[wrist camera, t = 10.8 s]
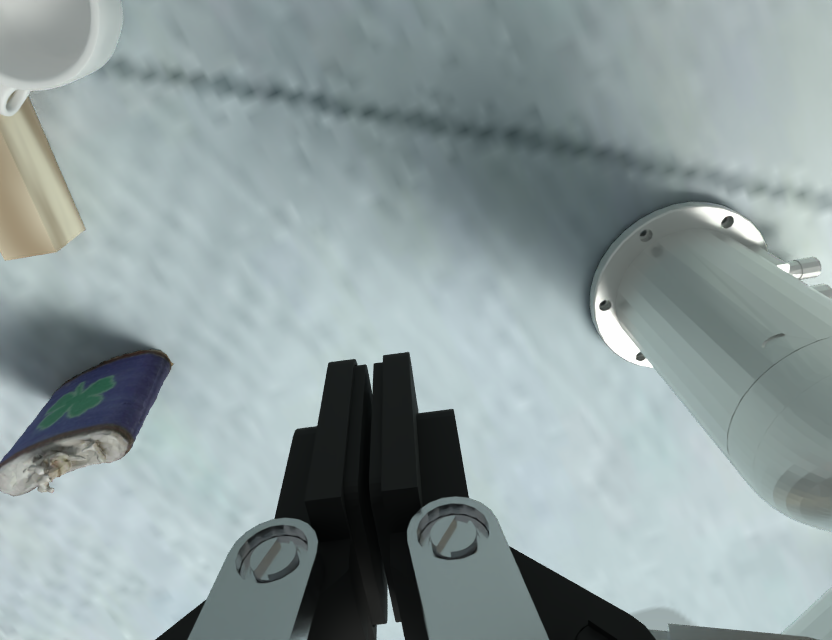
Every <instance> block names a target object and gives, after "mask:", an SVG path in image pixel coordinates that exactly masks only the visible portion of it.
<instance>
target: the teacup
mask: <svg viewBox="0 0 832 640" xmlns="http://www.w3.org/2000/svg"><path fill="white" fill-rule="evenodd" d="M122 26H123V8H122V2H121V0H0V114H1V115H3V116H7V117H8V116H13V115H14V114H15V113H16V112H17V111H18V110H19V109H20V107H21V106H22V104H23V103H24V101H25V100H26V98H27V96H28V95H29V93H30V92H31V91H39V90H48V89H53V88H58V87H61V86H64V85H67V84H70V83H72V82H74V81H77V80H79V79H81V78H83V77H85V76H87V75H90V74H92V73H94V72H95V71H97V70H99V69H100V68H101V67H103V66H104V65H105V64H106V63H107V62H108V60H109V59H110V58H111V56H112V55H113V53H114V51H115V49H116V46H117V44H118V41H119V38H120V35H121V31H122ZM14 91H15V92H14ZM13 92H14V94H13V96H12V98H11V99H10V100H9V102H8V103H7V100H8V98H9V96H10V95H11V94H12V93H13ZM6 103H7V104H6Z"/></svg>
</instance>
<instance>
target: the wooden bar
mask: <svg viewBox="0 0 832 640" xmlns="http://www.w3.org/2000/svg"><path fill="white" fill-rule="evenodd" d="M14 92H15V91H14ZM14 92H13V93H12V94H11V95H10V96H9V98H8V100H7V103H8V102H9V100H10V99H11V98H12V96H13V94H14ZM7 103H6V104H7ZM84 230H85V227H84V225H83V222H82V220H81V218H80V215H79V213H78V211H77V208H76V206H75V204H74V201H73V199H72V197H71V194H70V192H69V190H68V187H67V185H66V183H65V181H64V178H63V176H62V174H61V171H60V169H59V167H58V164H57V162H56V160H55V157H54V155H53V153H52V150H51V148H50V146H49V143H48V141H47V139H46V136H45V134H44V132H43V129H42V127H41V125H40V123H39V120H38V118H37V116H36V113H35V111H34V109H33V106H32V104H31V102H30V99H29V97H28V96H27V98H26V100H25V101H24V103H23V104H22V106H21V107H20V109H19V110H18V111H17V112H16V113H15V114H14V115H13V116H8V117H7V116H3V115H1V114H0V252H1V254H2V256H3V258H4V260H5V261H6V260H12V259H18V258H24V257H30V256H36V255H42V254H48V253H54V252H57V251H59V250H60V249H61V248H62V247H64V246H65V245H66V244H68V243H69V242H70V241H71V240H73V239H74V238H75V237H76V236H78V235H79V234H80V233H82V232H83V231H84Z"/></svg>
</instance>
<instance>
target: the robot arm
mask: <svg viewBox="0 0 832 640" xmlns="http://www.w3.org/2000/svg"><path fill="white" fill-rule="evenodd" d="M643 230H644V231H643ZM642 231H643V233H642V234H640V233H641V232H642ZM820 273H821V264H820V261H819V260H818V259H817V258H815V257H809V258H803V259H797V260H793V261H791V262H784V261H783V260H781V259H779V258H777V257H776V256H774V255H772V254H771V253H769V252H768V248H767V244H766V242H765V240H764V238H763V236H762V234H761V232H760V231H759V230H758V229H757V228H756V227H755V225H754V224H753V223H752V222H751V221H750V220H748V219H747V218H745V217H744V216H742V215H741V214H739V213H738V212H736V211H734V210H732V209H729V208H727V207H725V206H723V205H718V204H714V203H710V202H686V203H680V204H674V205H671V206H668V207H665V208H662V209H659V210H656V211H654V212H652V213H651V214H649V215H647V216H645V217H643V218H641V219H640V220H638V221H637V222H635V223H634V224H633V225H632V226H630V227H629V228H628V229H626V230H625V231H624V232H623V233H622V234H621V235H620V236H619V237H618V238H617V239H616V240H615V241H614V242H613V243H612V245H611V246H610V247H609V249H608V250H607V252H606V253H605V255H604V256H603V258H602V259H601V261H600V263H599V266H598V268H597V270H596V272H595V274H594V278H593V282H592V286H591V290H590V311H591V316H592V321H593V323H594V325H595V328H596V330H597V332H598V334H599V335H600V336H601V338H602V339H603V341H604V342H605V344H606V345H607V346H608V347H609V348H610V349H611V350H612V351H613V352H614V353H615V354H617V355H618V356H620V357H621V358H623V359H624V360H626V361H628V362H631V363H633V364H636V365H640V366H645V367H651V368H654V369H655V370H656V371H657V373H658V374H659V375H660V376H661V378H662V379H663V380H664V381H665V382H666V384H667V385H668V386H669V387H670V389H671V390H672V391H673V392H674V394H675V395H676V396H677V397H678V399H679V400H680V401H681V402H682V403H683V405H684V406H685V407H686V408H687V410H688V411H689V412H690V413H691V415H692V416H693V417H694V418H695V419H696V421H697V422H698V423H699V424H700V426H701V427H702V428H703V429H704V431H705V432H706V433H707V434H708V436H709V437H710V438H711V439H712V440H713V442H714V443H715V444H716V445H717V447H718V448H719V449H720V450H721V452H722V453H723V454H724V455H725V456H726V458H727V459H728V460H729V461H730V463H731V464H732V465H733V466H734V468H735V469H736V470H737V472H738V473H739V474H740V475H741V477H742V478H743V479H744V480H745V481H746V483H747V484H748V485H749V486H750V487H751V489H752V490H753V491H754V492H755V493H756V494H757V495H758V496H759V497H760V498H761V499H762V500H764V501H765V502H766V503H767V504H769V505H770V506H771V507H772V508H774V509H775V510H777V511H778V512H780V513H782V514H784V515H785V516H787V517H789V518H791V519H793V520H795V521H797V522H800V523H803V524H805V525H808V526H811V527H814V528H817V529H820V530H825V531H829V532H832V289H831V288H830V287H829V286H828V285H826V284H818V285H812V286H809V285H807V284H806V283H804V282H802V281H801V280H802V279H808V278H814V277H817V276H819V275H820ZM387 583H388V588H389V593H390V597H391V602H392V607H393V612H394V616H395V621H396V622H402V627H403V632H404V637H405V640H832V587H831V588H830V589H829V590H828V591H826V592H825V593H824V594H823V595H822V596H821V597H820V598H819V599H818V600H817V601H816V602H814V603H813V604H812V605H811V606H810V607H809V608H808V609H807V610H806V611H805V612H804V613H803V614H801V615H800V616H799V617H798V618H797V619H796V620H795V621H794V622H793V623H792V624H791V625H790V626H788V627H787V628H786V629H785V630H784V631H783V632H782V633H781V634H773V633H762V632H752V631H741V630H731V629H720V628H710V627H699V626H689V625H678V624H668V630H667V631H659V630H649V629H647V628H646V626H645V625H643V624H642V623H641V622H639V621H638V620H637V619H635V618H634V617H633V616H631V615H630V614H628V613H626V612H625V611H623V610H621V609H619V608H618V607H616V606H614V605H612V604H610V603H609V602H607V601H605V600H603V599H602V598H600V597H598V596H596V595H595V594H593V593H591V592H589V591H587V590H586V589H584V588H582V587H580V586H579V585H577V584H575V583H573V582H572V581H570V580H568V579H566V578H565V577H563V576H561V575H559V574H557V573H556V572H554V571H552V570H550V569H549V568H547V567H545V566H543V565H542V564H540V563H538V562H536V561H535V560H533V559H531V558H529V557H527V556H526V555H524V554H522V553H520V552H519V551H517V550H515V549H513V548H512V547H510V546H509V545H508V543H507V541H506V538H505V536H504V534H503V531H502V529H501V527H500V524H499V522H498V520H497V518H496V517H495V515H494V514H493V512H492V511H491V510H490V509H489V508H488V507H486V506H485V505H484V504H482V503H481V502H478V501H476V500H473V499H470V498H469V496H468V490H467V484H466V479H465V473H464V467H463V461H462V455H461V449H460V444H459V438H458V432H457V426H456V420H455V415H454V410H453V409H449V410H441V411H433V412H425V413H418V406H417V400H416V393H415V386H414V380H413V373H412V366H411V359H410V354H409V352H405V353H398V354H390V355H383V362H382V363H374V369H373V394H372V390H371V384H370V379H369V374H368V369H367V365H358V366H357V362H356V360H355V359H351V360H344V361H336V362H329V363H328V368H327V373H326V379H325V385H324V391H323V396H322V402H321V408H320V414H319V420H318V425H317V426H316V427H308V428H300V429H297V430H295V433H294V435H293V440H292V444H291V448H290V453H289V457H288V462H287V466H286V470H285V475H284V479H283V484H282V488H281V492H280V497H279V501H278V506H277V510H276V514H275V519H272V520H269V521H267V522H264V523H261V524H259V525H257V526H255V527H254V528H252V529H250V530H249V531H247V532H246V533H245V534H244V535H243V536H241V537H240V538H239V539H238V540H237V541H236V542H235V544H234V545H233V547H232V548H231V550H230V552H229V553H228V555H227V557H226V559H225V562H224V564H223V566H222V568H221V570H220V572H219V574H218V576H217V578H216V581H215V583H214V585H213V587H212V589H211V591H210V593H209V595H208V597H207V599H206V600H205V601H204V602H203V603H201V604H200V605H199V606H197V607H196V608H195V609H194V610H192V611H191V612H190V613H189V614H187V615H186V616H185V617H183V618H182V619H181V620H180V621H178V622H177V623H176V624H175V625H173V626H172V627H171V628H170V629H168V630H167V631H166V632H164V633H163V634H162V635H161V636H159V637H158V638H157V639H156V640H376V634H377V625H379V624H386V623H387Z"/></svg>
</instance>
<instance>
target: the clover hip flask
mask: <svg viewBox="0 0 832 640" xmlns="http://www.w3.org/2000/svg"><path fill="white" fill-rule="evenodd" d="M172 365H173V363H171V361H170V359H169V358H168V356H167V355H166V354H165V353H163V352H162V351H160V350H153V349H150V350H140V351H136V352H133V353H128V354H123V355H122V356H116V357H114V358H111V359H110V360H108V361H104V362H101V363H100V364H99V365H97V366H95V367H93V368H91V369H89V370H87V371H85V372H82V374H79V375H78V376H77V375H76V376H75V377H73V378H72V379H71V380H68V381H67V382H66V383H64V384H63V385H62V386H61V387H60V388H59V389H57V390H56V392H55V393H54V394H53V395H52V397H51V399H50V400H49V401H48V403H47V404H46V405H45V406H44V407H43V409H42V410H41V411H40V413H39V414H38V415H37V417H36V418H35V420H34V421H33V422H32V423H31V425H30V426H28V428H27V429H26V431H25V432H24V433H23V435H22V436H21V437H20V438H19V439H18V440H17V442H16V443H15V445H14V446H13V447H12V449H11V450H10V451H9V452H8V453H7V454H6V455H5V456H4V458H3V459H2V461H1V462H0V491H1V492H3V493H5V494H9V495H11V496H19V495H22V494H25V493H28V492H30V491H31V490H33V489H35V488H36V487H38V491H39V492H50V493H51V492H53V491H54V489H53V488H50V487H49V482H53V481H52V480H53V479H54V478H55V477H60V476H61V475H63V474H65V473H68V472H70V471H74V470H76V469H79V468H82V467H86V466H89V465H93V464H101V463H111V462H113V461H116V460H119V459H121V458H122V457H124V456H125V455H126V454H127V453H128V452H129V451H130V449H131V448H132V446H133V443H134V441H135V439H136V436H137V435H138V433H139V430H140V428H141V427H142V425H143V422H144V420H145V418H146V416H147V415H148V413H149V410H150V408H151V407H152V405H153V404H154V402H155V400H156V398H157V395H158V393H159V391H160V388H161V386H162V385H163V382H164V380H165V379H166V377H167V375H168V374H169V372H170V370H171V366H172Z"/></svg>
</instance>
